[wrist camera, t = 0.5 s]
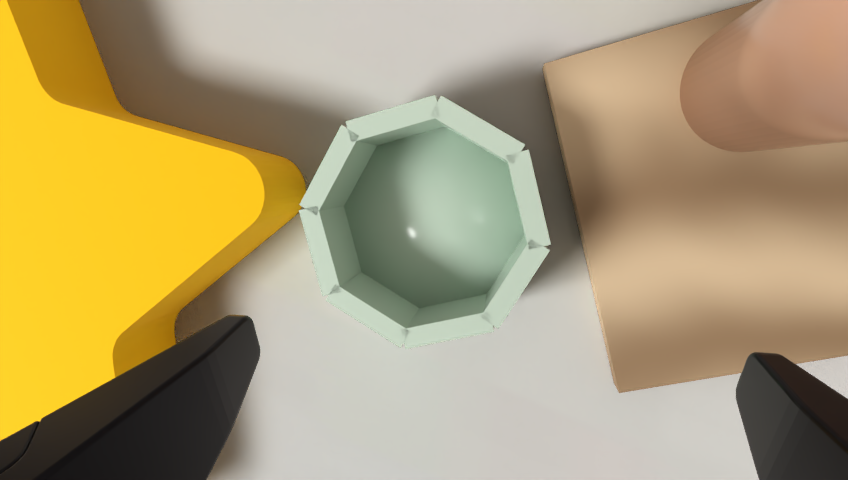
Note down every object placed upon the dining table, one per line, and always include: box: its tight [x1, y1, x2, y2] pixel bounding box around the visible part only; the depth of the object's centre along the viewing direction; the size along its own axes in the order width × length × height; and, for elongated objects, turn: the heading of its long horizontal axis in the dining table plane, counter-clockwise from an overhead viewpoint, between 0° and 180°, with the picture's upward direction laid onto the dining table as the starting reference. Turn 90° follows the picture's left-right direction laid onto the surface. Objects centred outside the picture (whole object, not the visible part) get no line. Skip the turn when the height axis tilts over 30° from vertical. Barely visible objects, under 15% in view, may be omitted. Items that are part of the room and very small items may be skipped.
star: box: [0, 0, 306, 441], centre depth 24 cm, size 30×4×29 cm
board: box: [542, 0, 848, 393], centre depth 20 cm, size 14×10×1 cm
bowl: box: [299, 95, 551, 349], centre depth 20 cm, size 9×9×4 cm
